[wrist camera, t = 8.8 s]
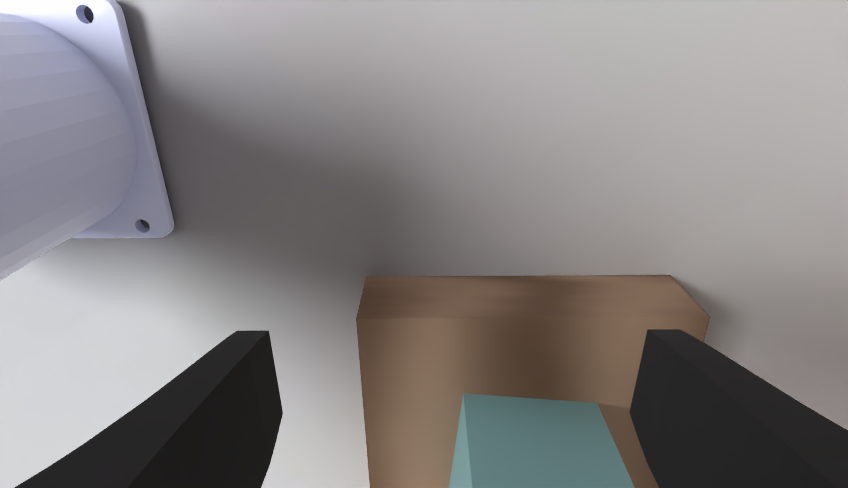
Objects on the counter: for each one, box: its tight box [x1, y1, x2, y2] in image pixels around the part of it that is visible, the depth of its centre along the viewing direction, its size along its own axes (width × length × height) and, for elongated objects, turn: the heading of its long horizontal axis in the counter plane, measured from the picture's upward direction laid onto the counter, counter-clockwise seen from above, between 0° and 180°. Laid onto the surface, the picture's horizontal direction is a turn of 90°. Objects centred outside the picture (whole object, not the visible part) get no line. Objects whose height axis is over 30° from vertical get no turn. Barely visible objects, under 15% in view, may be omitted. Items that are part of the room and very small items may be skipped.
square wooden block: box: [356, 275, 710, 488], centre depth 21 cm, size 12×12×4 cm
